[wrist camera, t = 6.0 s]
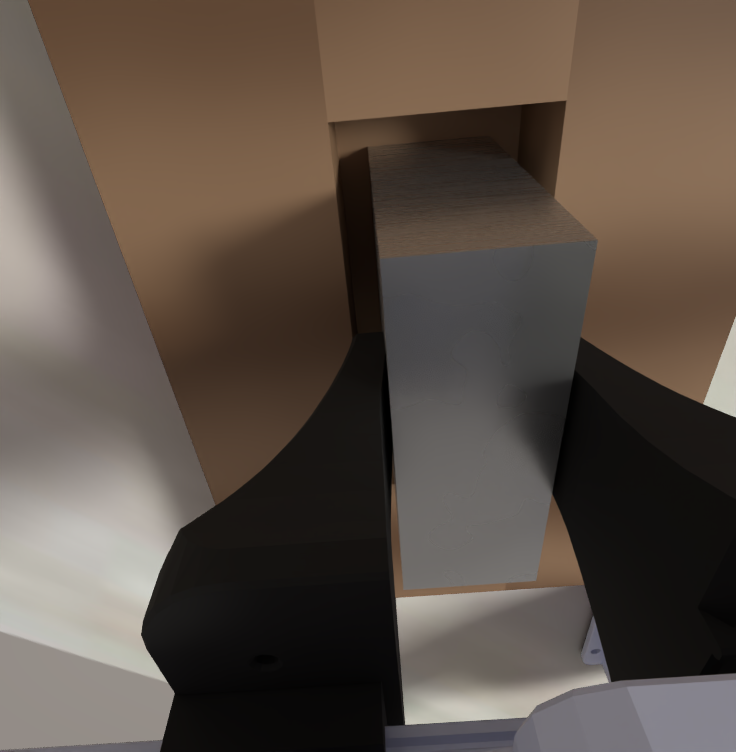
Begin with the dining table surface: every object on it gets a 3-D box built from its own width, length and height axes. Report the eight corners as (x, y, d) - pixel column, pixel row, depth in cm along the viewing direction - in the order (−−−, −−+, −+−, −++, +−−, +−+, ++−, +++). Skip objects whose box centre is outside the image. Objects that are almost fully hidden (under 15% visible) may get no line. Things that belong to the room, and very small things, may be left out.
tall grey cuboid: (476, 393, 18) (536, 581, 12) (387, 400, 18) (403, 589, 12) (489, 135, 13) (598, 240, 7) (367, 146, 13) (379, 258, 7)
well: (599, 505, 22) (636, 581, 19) (266, 529, 22) (253, 607, 19) (824, -344, 9) (1041, -504, 6) (31, -253, 9) (-108, -366, 7)
